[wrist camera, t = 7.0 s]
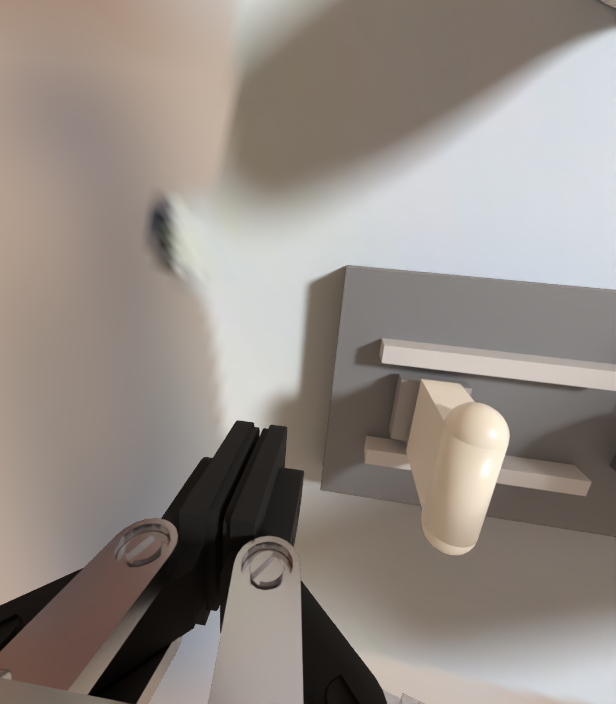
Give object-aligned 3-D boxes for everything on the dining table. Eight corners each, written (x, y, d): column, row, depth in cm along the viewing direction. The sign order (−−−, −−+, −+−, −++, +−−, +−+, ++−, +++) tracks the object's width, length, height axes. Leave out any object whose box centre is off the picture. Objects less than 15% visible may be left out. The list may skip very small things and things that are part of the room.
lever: (472, 356, 14) (554, 428, 9) (446, 459, 16) (499, 576, 10) (403, 348, 15) (438, 413, 9) (385, 450, 16) (403, 560, 11)
